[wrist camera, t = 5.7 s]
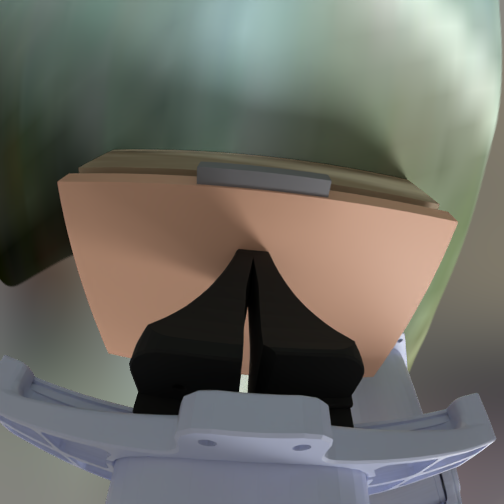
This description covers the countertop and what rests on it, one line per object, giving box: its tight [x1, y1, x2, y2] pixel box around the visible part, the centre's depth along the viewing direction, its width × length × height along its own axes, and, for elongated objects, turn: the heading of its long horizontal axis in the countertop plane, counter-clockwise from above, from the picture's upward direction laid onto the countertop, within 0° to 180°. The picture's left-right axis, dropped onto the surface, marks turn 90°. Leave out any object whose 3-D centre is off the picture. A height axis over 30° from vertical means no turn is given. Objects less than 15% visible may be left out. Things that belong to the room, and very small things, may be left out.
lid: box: [57, 161, 458, 377], centre depth 14 cm, size 13×18×1 cm
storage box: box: [79, 149, 439, 210], centre depth 17 cm, size 12×18×4 cm, turn 85°
